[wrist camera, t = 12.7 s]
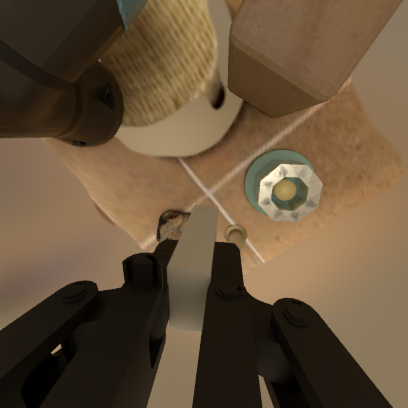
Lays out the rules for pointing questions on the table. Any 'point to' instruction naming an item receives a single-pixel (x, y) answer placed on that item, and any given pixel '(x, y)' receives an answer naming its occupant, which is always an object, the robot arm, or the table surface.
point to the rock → (171, 226)
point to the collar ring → (305, 190)
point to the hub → (282, 188)
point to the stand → (236, 235)
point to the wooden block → (300, 49)
